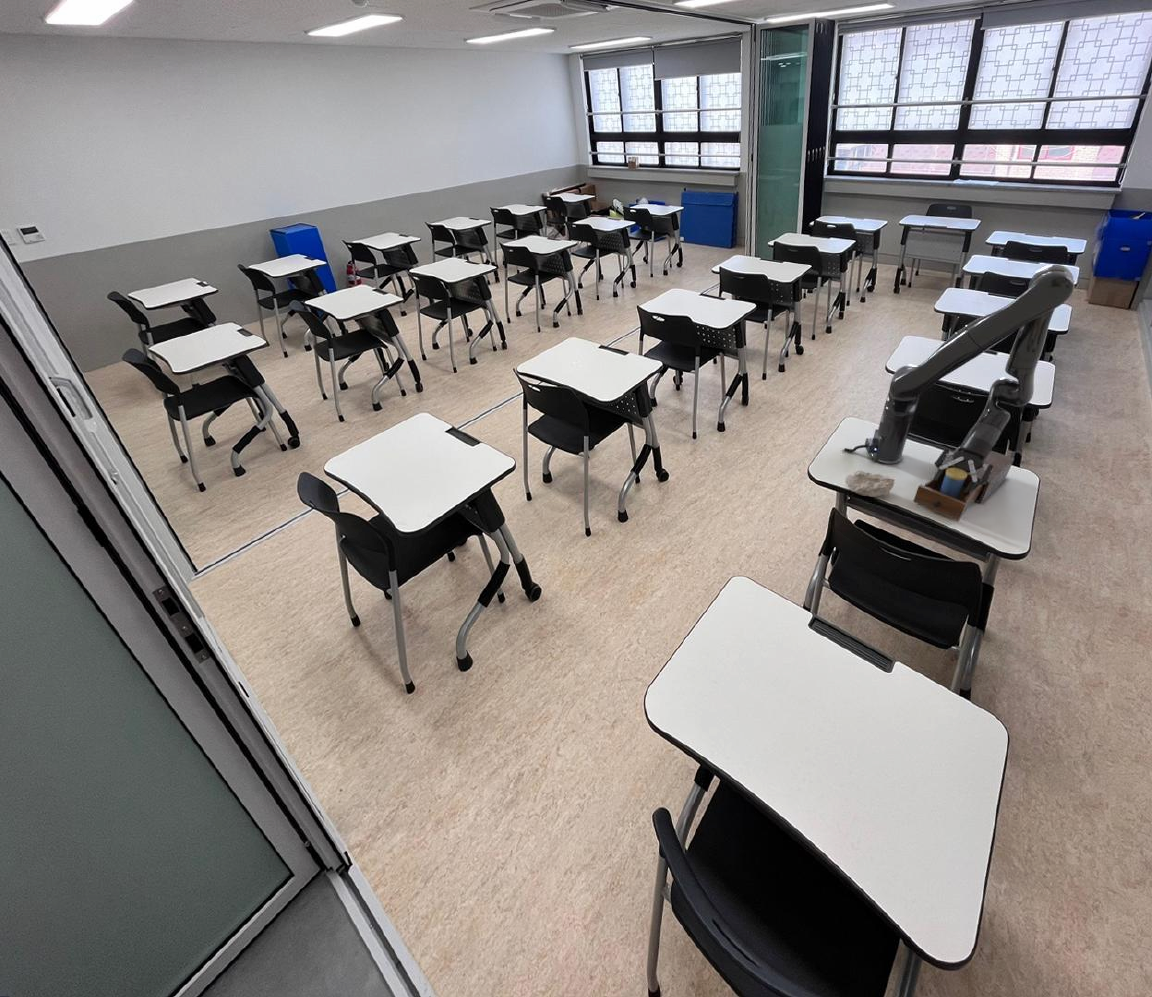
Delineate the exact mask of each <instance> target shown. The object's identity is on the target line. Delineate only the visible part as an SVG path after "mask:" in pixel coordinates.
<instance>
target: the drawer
mask: <svg viewBox="0 0 1152 997" xmlns="http://www.w3.org/2000/svg"><path fill="white" fill-rule="evenodd" d="M945 475H946V471H944V474H943V475H942V477H941V478H940V480H939V482H938V483H936V482H935V481H934V476H935V475H933V476H932V477H931V478H929V480H927V481H926V482H925V483H924V484H919V485H918V486H917V490H916V492H915V496H914V497H913V498H914V499H913V503H915V504H917V505H919V506H922V507H924V508H927V509H929V510H931V511H934V512H936V513H938V514H940V515H943V516H944V517H946V518H947V517H948V518H950V519H952V520H954V521H956V522H959V521H960V520H961V518H962V517H963V514H964V512H966V510H967V509H969V507H971V506H972V504H974V503H975V502H976V501H975V500H976V499H977V498H978V497H980V496H981V494H982V491H983V489H984V487H985V485H986V484H985V485H982V484H977V485H976V486H975V487H974V489H973V490H972V492H971V493H970V494H969V493H968V494H967V495H966V494H964V491H965V489H966V488H967V486H968V485H969V483H970V482H972V478H971V477H968V476H967V478H966V479H965V481H964V484H963V486H962V488H961V491H960V493H959V496H958V498H957V499H955V498H953V497H950V496H948V495H945V494H943V493H941V492H939V490H940V488H941V485H942V482H943V480H944V477H945Z"/></svg>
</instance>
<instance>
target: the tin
mask: <svg viewBox="0 0 1152 997" xmlns="http://www.w3.org/2000/svg"><path fill="white" fill-rule="evenodd" d="M966 478H967V473H966V472H965V471H964V470H962V469H959V468H949V469H947V470H946V475H945V477H944V480H943V482H942V485H941V488H940V490H939V492H941V493H943V494H945V495H948V496H950V497H953V498H955V499H957V498H958V496H959V493H960V491H961V488H962V486H963V484H964V481H965V479H966Z"/></svg>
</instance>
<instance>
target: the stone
mask: <svg viewBox="0 0 1152 997" xmlns="http://www.w3.org/2000/svg"><path fill="white" fill-rule="evenodd" d="M895 480H896V479H895V478H892V477H889V476H883V475H881V474H880V473H877V474H873V473H871V472H868V471H863V470H860V469H857V470H854V471H853V473H852V474H849V475H847V476H846V477H845V479H844V483H845V484H846V485H847V487H848V488H849V490H850V491H851V492H852V493H855V494H857V495H859V496H864V497H870V498H872V497H873V498H875V497H883V496H887V495H888V494H889V493H890V491H891V490H892V489H893V488H894V485H895Z"/></svg>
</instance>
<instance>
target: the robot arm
mask: <svg viewBox="0 0 1152 997" xmlns="http://www.w3.org/2000/svg"><path fill="white" fill-rule="evenodd" d="M1074 291H1075V280H1074V275H1073V273H1072V272H1071V270H1070V269H1069V268H1068V267H1066V266H1064V265H1062V264H1051V265H1046V266H1044V267H1042V268H1041V269H1039V270H1037V271H1036V272H1035V273H1034V275H1032V277H1031V279H1030V280H1029V283H1028V289H1027V290H1025V291H1024V292H1022V294H1020V295H1018V297H1016V298H1015V299H1014V300H1012V301H1011V302H1010V303H1008V304H1007V305H1005V306H1004V307H1001V308H1000V309H998V310H995V311H993V312H990V313H988V314H985V315H983V316H981V317H978V318H977V319H975V320H973V321H970V322H969V323H967V324H966V325H965V326H963V327H962V328H960V329H959V330H958V331H956V332H955V333H953V334H952V335H951V336H950V337H949V338H947V339H946V340H945V341H944V342H943V343H942V344H941V345H940V346H939V347H938V348H937V349H935V351H934V352H933V353H932V354H931V355H930V356H929V357H927V359H926V360H925V361H923V362H922V363H920V364H919V365H917V366H916V365H913V364H908V365H903V366H901V367H899V368H898V369H897V370H895V372H894V373H893V375H892V378H891V381H890V384H889V389H888V392H887V397H886V399H885V403H884V406H883V410H882V414H881V417H880V420H879V424H878V428H877V429H875V430H874V434H873V437H870V438H869V437H867V438H865V441H864V444H860V445H855V447H853V448H846V447H845V448H844V450H843V451H844V452H847V453H854V452H856V451H857V450H859V449H864V448H865V450H866V452H867V453H868V454H870V457H871V458H872V459H873V462H878V463H881V464H887V465H893V464H897V463H899V462H901V460H902V456H903V452H904V448H905V445H906V442H907V439H908V435H909V433H910V429H911V426H912V423H913V420H914V416H915V413H916V410H917V407H918V404H919V401H920V397H921V395H922V394H923V393H924V392H926V391H927V390H928V389H929V388H931V387H932V386H933V385H935V384H936V383H937V382H938V381H940V380H942V379H943V378H944V377H946V376H948V375H949V374H951V373H953V372H954V371H956V370H958V369H959V368H961V367H963V366H965V365H966V364H967V363H969V362H970V361H972V360H974V359H975V358H977V357H979V356H981V355H982V354H983V353H985V352H986V351H988V350H990V349H991V348H993V347H994V346H995V345H997V344H998V343H1000V342H1002V341H1003V340H1004V339H1007V337H1009V336H1010V335H1012V334H1013V333H1014V332H1016V331H1017V330H1018V332H1017V335H1016V337H1015V340H1014V342H1013V344H1012V348H1011V350H1010V352H1009V356H1008V358H1007V362H1006V363H1005V367H1004V372H1005V373H1006V374H1008V375H1009V376H1011V377H1012V378H1014V379H1011V378H1007V377H1001V378H998V379H996V380H995V381H994V382H993V383H992V384H991V385H990V387H989V392H988V397H987V401H986V404H985V405H984V408H983V411H982V413H981V414H980V416H979V417H978V418H977V420H976V422H975V423H974V425H973V426H972V427H971V428H970V430H969V431H968V433H967V434H966V436H965V437H964V439H963V440H962V443H961V444H960V446H958V448H959V449H958V448H957V449H958V450H957V451H956V452H955V453H953V452H954V451H950V450H949V449H948V448H944V449H943V451H942V452H941V454H940V455H939V456H938V458H937V459H936V461H935V462H934V466H935V468H937V470H938V471H937V470H936V473H935V474H934V475H933V476H934V481H935V482H936V483H938V482H939V480H940V478H941V477H942V475H943V474H944V471H946V470H947V469H949V468H959V469H962V470H964V471H965V472H966V473H970V472H971V476H972V482H970V483H969V485H968V486H967V488H966V489H965V491H964V494H966V495H967V494H968V493H969V494H970V493H971V492H972V490H973V489H974V487H975V486H976V485H977V484H982V485H985V484H986V482H987V480H988V478H989V477H990V475H991V473H992V471H993V469H994V468H993V465H987V464H984V460H985V459H986V457H987V456H988V454H989V453H990V451H992V449H993V448H994V447H995V445H996V444H997V441H998V440H999V438H1000V436H1001V434H1002V432H1003V431H1004V429H1005V428H1006V426H1007V424H1008V423H1009V421H1010V419H1011V414H1010V412H1008V411H1007V410H1005V409H1003V408H1001V407H1000V406H998V404H999V403H1001V404H1005V405H1008V406H1011V407H1014V408H1015V407H1016V408H1021V407H1022V408H1023V407H1025V406H1026V405H1027V404H1029V403H1030V402H1031V400H1032V399H1033V396H1034V390H1035V384H1034V382H1035V373H1036V368H1037V365H1038V364H1039V360H1040V358H1041V356H1042V352H1043V349H1044V346H1045V342H1046V338H1047V334H1048V330H1049V326H1050V323H1051V320H1052V317H1053V315H1054V313H1055V310H1056V308H1059V307H1060V306H1062V305H1064V304H1065V303H1066V302H1067V301H1068V300H1070V298H1071V297H1072V296H1073V293H1074ZM1015 379H1016V380H1015ZM950 456H952V457H953V461H950V462H948V463H947V464H945V465H941V464H942V463H943V462H944V460H945V459H946V458H949V457H950ZM982 467H983V468H984V471H985V473H984V475H983V476H982V478H981V479H977V475H976V471H975V470H977V469H980V468H982Z"/></svg>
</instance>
